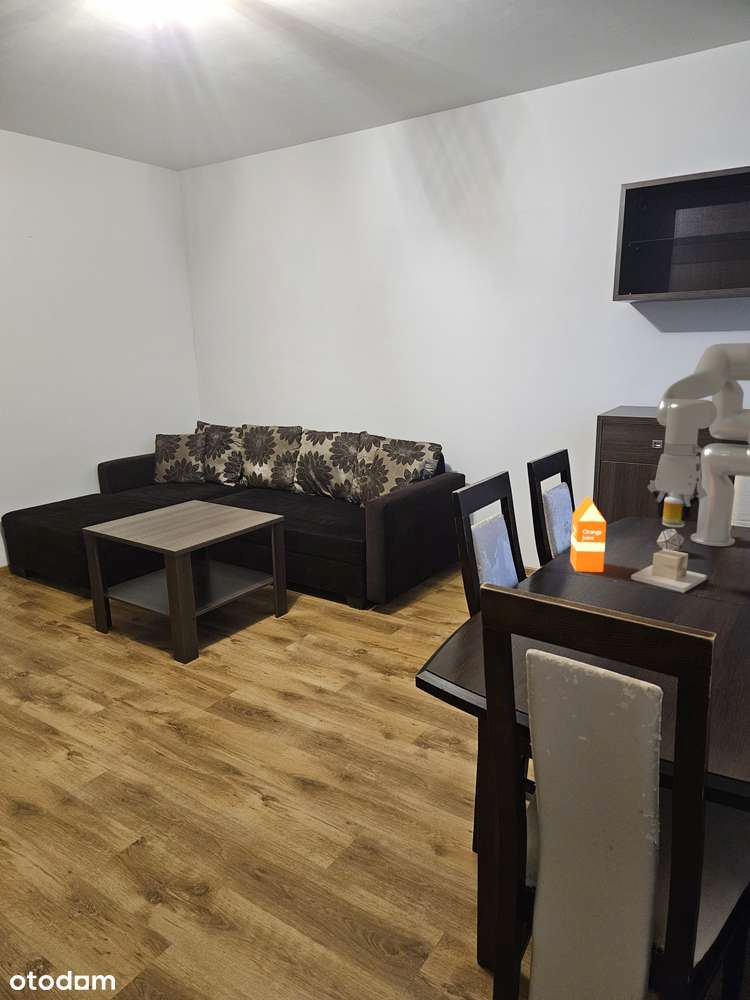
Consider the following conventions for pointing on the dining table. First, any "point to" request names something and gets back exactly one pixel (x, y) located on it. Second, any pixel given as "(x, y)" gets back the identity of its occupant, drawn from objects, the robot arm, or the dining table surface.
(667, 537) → the game die
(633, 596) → the dining table surface
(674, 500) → the supplement bottle
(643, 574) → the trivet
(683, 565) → the beech block
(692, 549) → the dining table surface
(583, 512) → the orange juice
